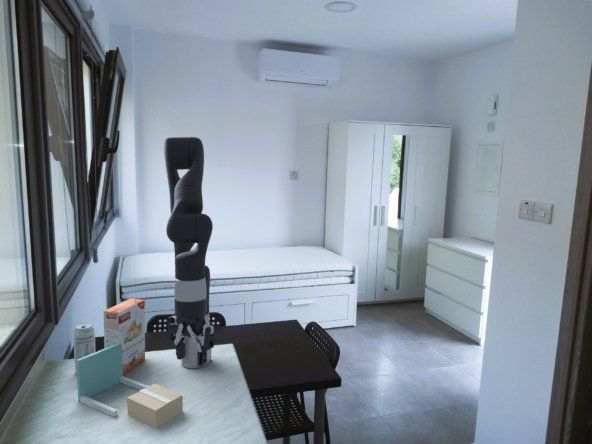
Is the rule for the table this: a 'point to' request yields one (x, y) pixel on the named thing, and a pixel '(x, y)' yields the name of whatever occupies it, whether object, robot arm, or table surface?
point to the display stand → (102, 376)
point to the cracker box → (126, 330)
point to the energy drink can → (83, 341)
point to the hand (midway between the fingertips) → (191, 361)
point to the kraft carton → (155, 405)
